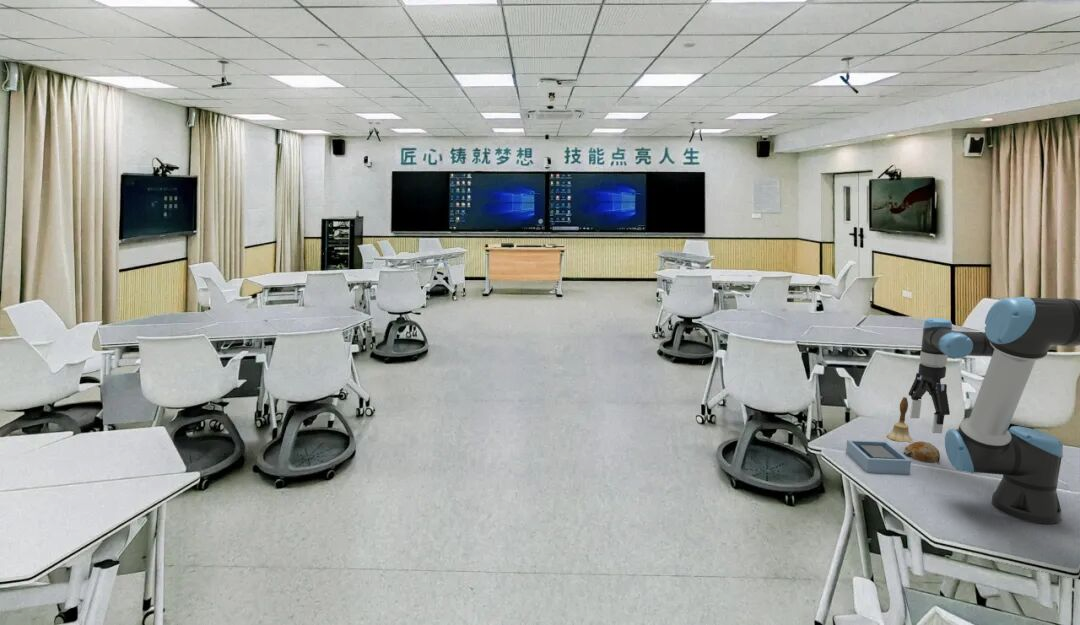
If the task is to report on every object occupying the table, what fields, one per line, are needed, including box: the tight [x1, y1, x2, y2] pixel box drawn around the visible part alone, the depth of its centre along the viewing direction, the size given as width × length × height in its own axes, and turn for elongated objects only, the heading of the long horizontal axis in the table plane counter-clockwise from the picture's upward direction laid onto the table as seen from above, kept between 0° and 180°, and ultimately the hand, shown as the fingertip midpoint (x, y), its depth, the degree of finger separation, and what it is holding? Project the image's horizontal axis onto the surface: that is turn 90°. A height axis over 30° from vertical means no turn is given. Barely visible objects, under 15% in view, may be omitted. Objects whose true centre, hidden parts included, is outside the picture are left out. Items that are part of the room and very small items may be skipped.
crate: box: [845, 439, 912, 475], centre depth 193 cm, size 16×13×6 cm
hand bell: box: [886, 396, 914, 443], centre depth 216 cm, size 8×8×16 cm
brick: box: [860, 445, 896, 459], centre depth 193 cm, size 10×7×4 cm
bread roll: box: [903, 440, 941, 465], centre depth 198 cm, size 10×10×8 cm
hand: (925, 425), depth 197 cm, fingers open, 13 cm apart
